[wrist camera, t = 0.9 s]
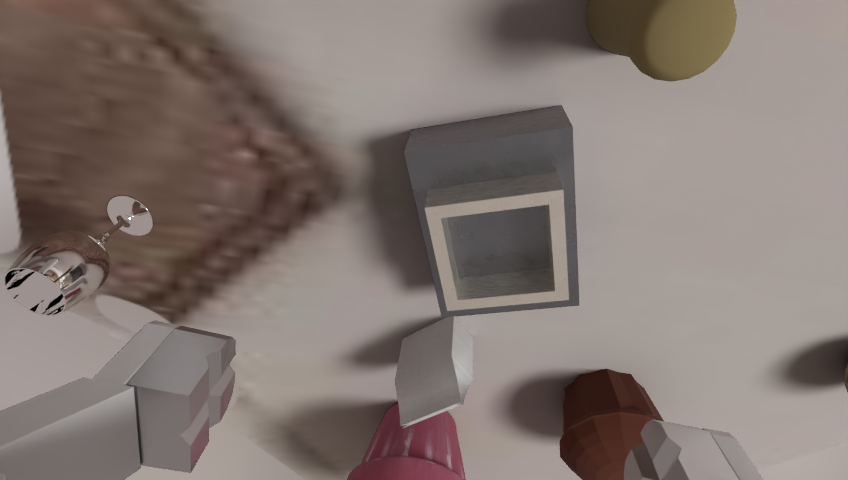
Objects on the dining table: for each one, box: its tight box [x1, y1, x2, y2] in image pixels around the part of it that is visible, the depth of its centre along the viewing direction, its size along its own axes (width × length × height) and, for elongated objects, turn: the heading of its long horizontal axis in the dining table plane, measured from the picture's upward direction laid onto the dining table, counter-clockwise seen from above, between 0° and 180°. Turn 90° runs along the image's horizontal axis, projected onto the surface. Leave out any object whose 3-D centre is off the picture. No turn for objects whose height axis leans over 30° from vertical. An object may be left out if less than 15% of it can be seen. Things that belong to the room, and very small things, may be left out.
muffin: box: [560, 369, 663, 480], centre depth 50 cm, size 12×11×10 cm
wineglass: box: [4, 196, 153, 316], centre depth 42 cm, size 6×6×12 cm
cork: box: [587, 0, 737, 81], centre depth 29 cm, size 6×6×11 cm
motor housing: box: [404, 105, 579, 318], centre depth 39 cm, size 16×12×8 cm
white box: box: [395, 316, 474, 428], centre depth 47 cm, size 4×7×10 cm, turn 126°
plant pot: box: [347, 403, 466, 480], centre depth 54 cm, size 14×14×13 cm
